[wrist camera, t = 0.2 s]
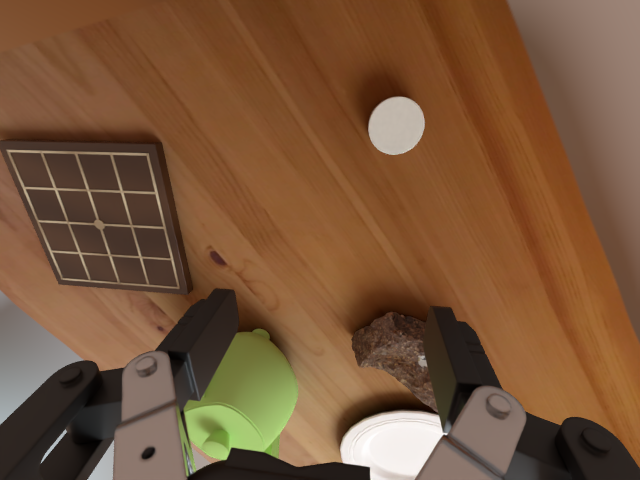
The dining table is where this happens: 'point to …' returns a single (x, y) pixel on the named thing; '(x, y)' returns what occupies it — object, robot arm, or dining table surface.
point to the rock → (396, 352)
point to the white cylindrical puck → (396, 125)
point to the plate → (392, 443)
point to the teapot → (244, 399)
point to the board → (102, 212)
